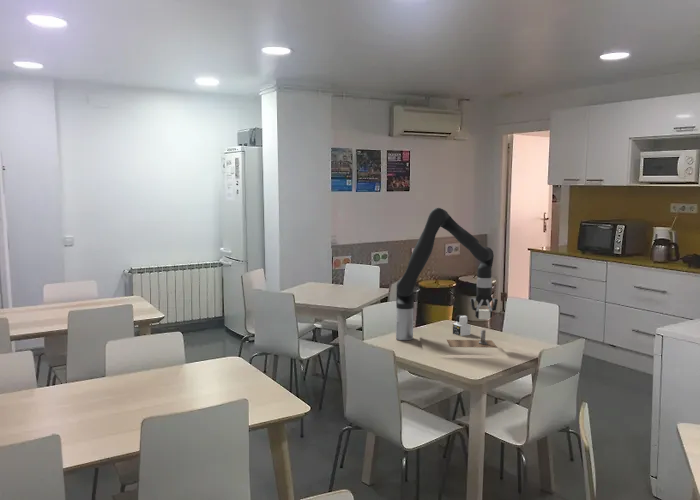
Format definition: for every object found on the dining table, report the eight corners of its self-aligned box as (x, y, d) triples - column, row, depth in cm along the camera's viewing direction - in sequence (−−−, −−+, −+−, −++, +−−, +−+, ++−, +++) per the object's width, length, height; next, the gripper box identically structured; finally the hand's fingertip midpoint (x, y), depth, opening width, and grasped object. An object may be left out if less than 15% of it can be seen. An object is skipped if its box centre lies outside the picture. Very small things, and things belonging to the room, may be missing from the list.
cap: (479, 319, 287) (479, 311, 287) (477, 316, 293) (477, 309, 292) (490, 319, 287) (490, 311, 286) (487, 316, 292) (488, 309, 292)
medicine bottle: (452, 335, 313) (452, 314, 312) (462, 334, 316) (463, 313, 315) (460, 338, 307) (460, 317, 305) (470, 337, 310) (471, 316, 308)
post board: (449, 349, 285) (450, 333, 284) (446, 342, 299) (446, 326, 298) (497, 350, 284) (497, 334, 283) (491, 343, 298) (492, 327, 297)
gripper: (471, 287, 285) (470, 319, 286) (499, 287, 284) (499, 319, 286) (468, 284, 292) (468, 316, 294) (496, 284, 291) (496, 316, 293)
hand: (483, 318), depth 290 cm, fingers closed on cap, 5 cm apart
